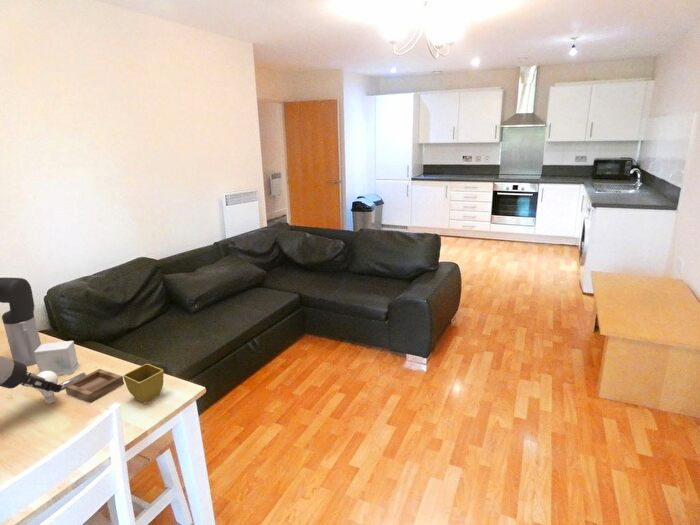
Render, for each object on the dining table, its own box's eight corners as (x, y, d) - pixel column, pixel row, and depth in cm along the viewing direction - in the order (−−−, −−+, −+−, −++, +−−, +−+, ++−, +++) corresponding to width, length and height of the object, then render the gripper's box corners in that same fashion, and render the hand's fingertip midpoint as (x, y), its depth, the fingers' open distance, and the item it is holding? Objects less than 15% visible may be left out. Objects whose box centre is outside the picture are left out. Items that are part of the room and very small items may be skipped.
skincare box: (39, 378, 148) (33, 351, 145) (47, 369, 154) (41, 343, 151) (72, 374, 150) (66, 347, 148) (79, 365, 156) (73, 339, 154)
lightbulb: (50, 409, 130) (43, 378, 127) (33, 407, 132) (25, 376, 128) (67, 397, 136) (60, 367, 133) (51, 395, 138) (44, 365, 134)
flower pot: (168, 394, 138) (164, 369, 135) (143, 408, 130) (139, 382, 128) (151, 386, 142) (147, 363, 139) (126, 400, 135) (122, 375, 132)
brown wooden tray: (66, 394, 138) (64, 386, 137) (101, 376, 149) (99, 368, 148) (90, 403, 133) (88, 394, 132) (123, 383, 144) (122, 376, 143)
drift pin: (56, 392, 139) (54, 388, 139) (52, 391, 140) (51, 386, 139) (87, 376, 149) (86, 372, 148) (84, 375, 149) (83, 371, 149)
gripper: (-21, 378, 122) (33, 392, 136) (7, 390, 116) (60, 403, 130) (-4, 354, 125) (46, 370, 139) (24, 364, 119) (74, 380, 133)
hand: (53, 386), depth 134 cm, fingers closed on lightbulb, 6 cm apart
